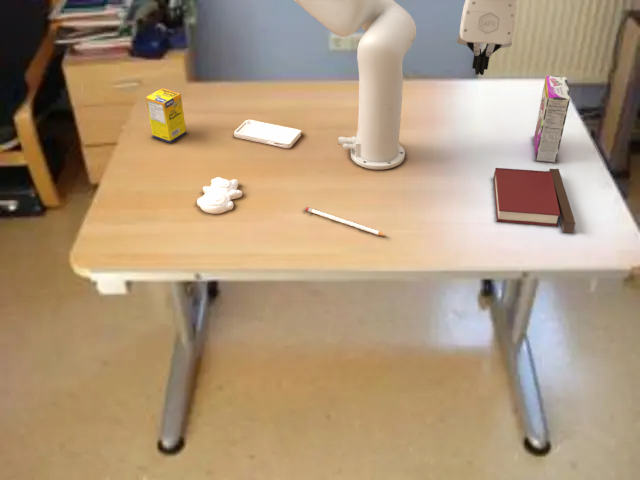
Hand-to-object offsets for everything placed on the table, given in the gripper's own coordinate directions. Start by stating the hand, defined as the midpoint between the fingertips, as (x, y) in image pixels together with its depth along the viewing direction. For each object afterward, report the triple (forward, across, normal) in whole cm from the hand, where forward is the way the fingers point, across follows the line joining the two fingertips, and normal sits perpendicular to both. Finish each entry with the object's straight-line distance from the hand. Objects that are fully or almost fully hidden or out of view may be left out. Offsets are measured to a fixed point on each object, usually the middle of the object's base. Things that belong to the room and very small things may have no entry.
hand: (479, 71), depth 144 cm
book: (+24, +13, -10) cm, 29 cm away
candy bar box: (+24, +19, +12) cm, 33 cm away
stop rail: (+24, +20, -10) cm, 33 cm away
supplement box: (+26, -71, +8) cm, 76 cm away
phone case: (+26, -47, +11) cm, 54 cm away
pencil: (+25, -24, -23) cm, 41 cm away
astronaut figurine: (+26, -52, -17) cm, 60 cm away
